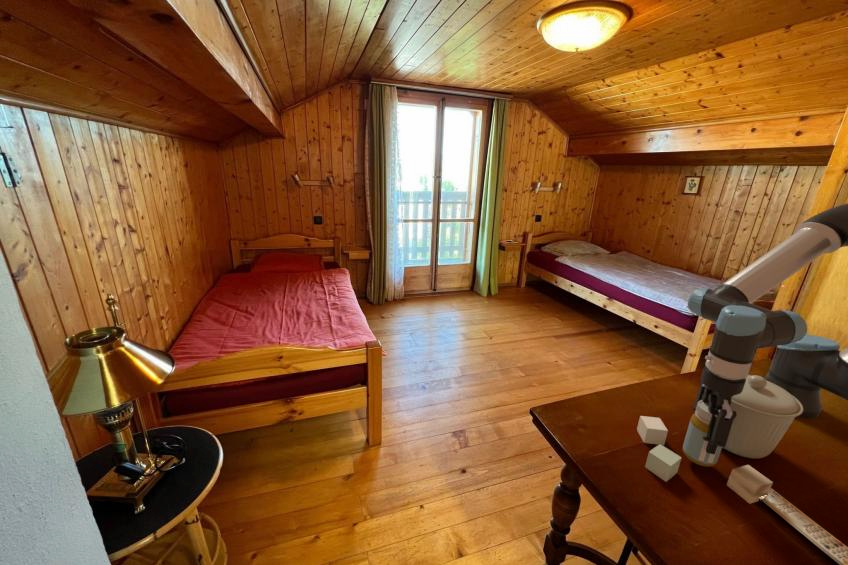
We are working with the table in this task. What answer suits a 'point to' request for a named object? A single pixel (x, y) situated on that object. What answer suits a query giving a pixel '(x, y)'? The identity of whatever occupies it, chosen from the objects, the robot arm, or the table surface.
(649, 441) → the cream cube
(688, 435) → the bottle
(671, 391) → the table surface
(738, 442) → the canister
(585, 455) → the table surface
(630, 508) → the table surface
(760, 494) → the birch cube
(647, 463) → the sage cube
